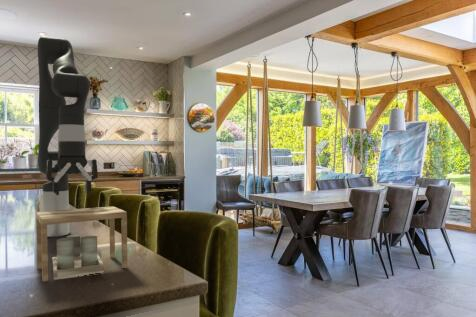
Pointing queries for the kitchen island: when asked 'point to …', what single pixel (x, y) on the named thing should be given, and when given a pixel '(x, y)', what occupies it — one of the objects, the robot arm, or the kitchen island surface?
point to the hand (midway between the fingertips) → (72, 194)
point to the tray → (76, 257)
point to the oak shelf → (78, 216)
